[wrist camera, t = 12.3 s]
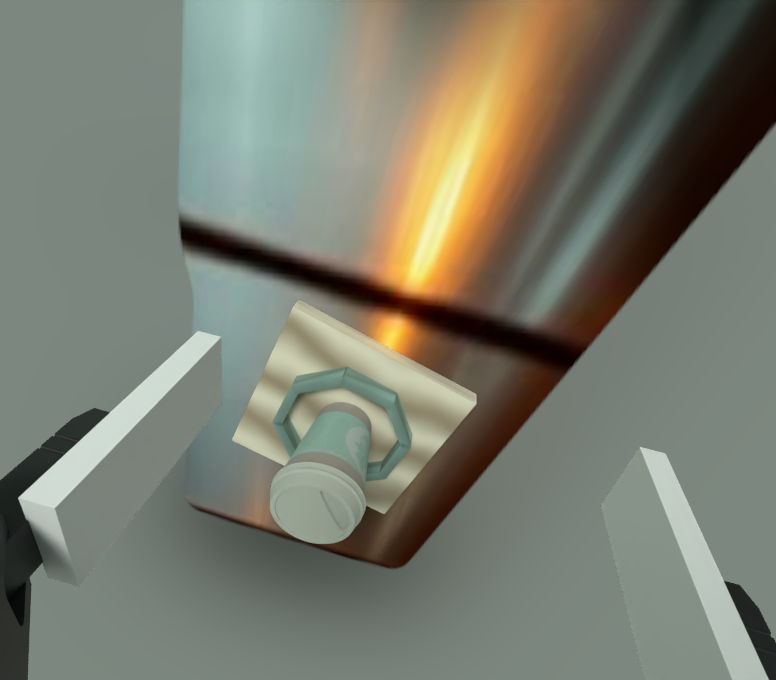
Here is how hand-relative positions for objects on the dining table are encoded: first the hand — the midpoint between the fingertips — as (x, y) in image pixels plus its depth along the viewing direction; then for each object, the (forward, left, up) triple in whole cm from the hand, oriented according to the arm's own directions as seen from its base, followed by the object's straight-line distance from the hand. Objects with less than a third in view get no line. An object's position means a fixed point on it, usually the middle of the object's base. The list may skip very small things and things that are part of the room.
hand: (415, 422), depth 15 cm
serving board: (+16, +19, -28) cm, 37 cm away
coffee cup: (+16, +19, -26) cm, 36 cm away
